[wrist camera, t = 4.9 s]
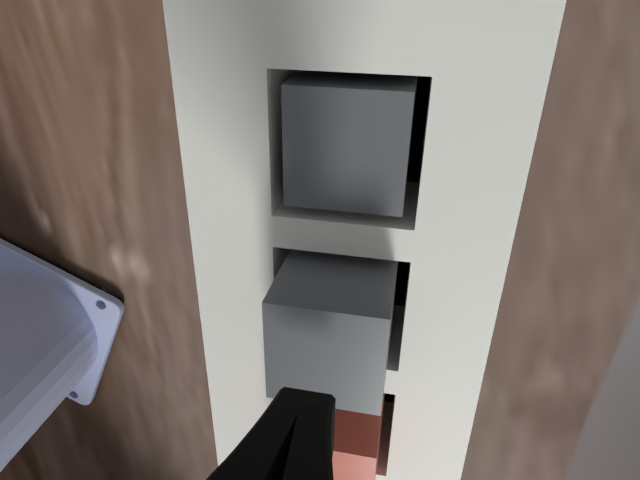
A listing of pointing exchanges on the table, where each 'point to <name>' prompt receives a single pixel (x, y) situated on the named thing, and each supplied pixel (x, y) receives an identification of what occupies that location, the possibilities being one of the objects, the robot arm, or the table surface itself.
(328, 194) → the grey button
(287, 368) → the grey button
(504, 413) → the table surface
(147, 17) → the table surface
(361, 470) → the red button
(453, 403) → the button panel
